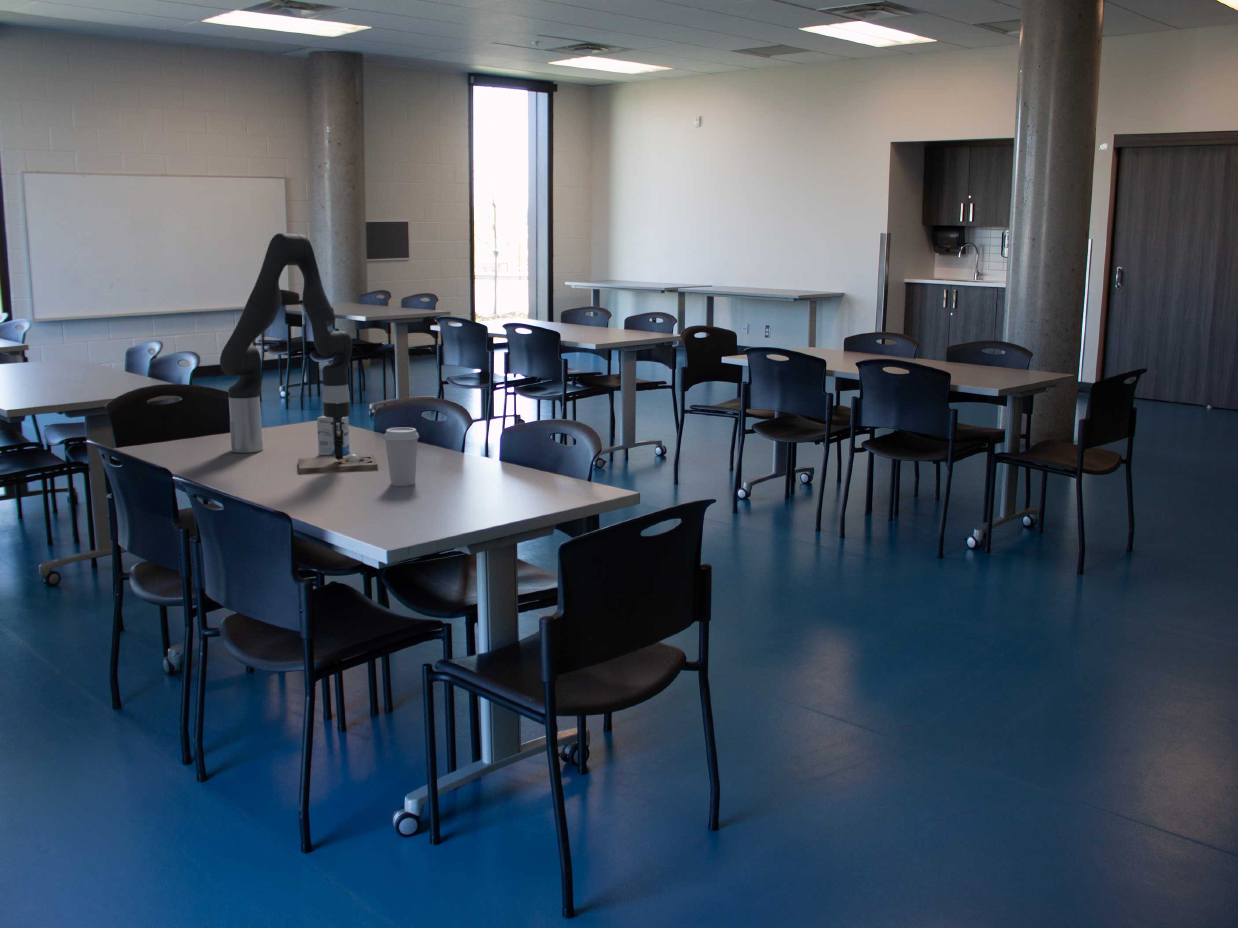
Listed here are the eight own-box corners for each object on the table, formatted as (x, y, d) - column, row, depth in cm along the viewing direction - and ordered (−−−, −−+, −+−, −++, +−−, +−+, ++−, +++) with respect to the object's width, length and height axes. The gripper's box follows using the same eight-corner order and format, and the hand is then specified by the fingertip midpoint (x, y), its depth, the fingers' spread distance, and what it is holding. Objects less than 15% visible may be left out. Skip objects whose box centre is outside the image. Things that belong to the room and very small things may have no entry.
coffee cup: (427, 481, 301) (425, 428, 298) (409, 488, 292) (407, 433, 289) (396, 478, 304) (394, 426, 301) (378, 485, 295) (376, 431, 292)
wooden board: (299, 473, 310) (298, 468, 310) (298, 463, 324) (298, 458, 324) (377, 469, 316) (377, 464, 316) (373, 459, 330) (373, 454, 330)
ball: (362, 460, 320) (354, 469, 320) (361, 457, 324) (354, 467, 324) (352, 453, 319) (345, 462, 319) (352, 450, 322) (344, 459, 322)
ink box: (350, 452, 341) (348, 415, 339) (344, 455, 337) (343, 418, 334) (323, 452, 342) (322, 415, 340) (318, 454, 338) (316, 417, 335)
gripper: (322, 397, 322) (325, 455, 325) (323, 403, 309) (326, 463, 313) (348, 396, 324) (350, 453, 327) (350, 402, 311) (353, 462, 315)
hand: (339, 458), depth 320 cm, fingers closed
